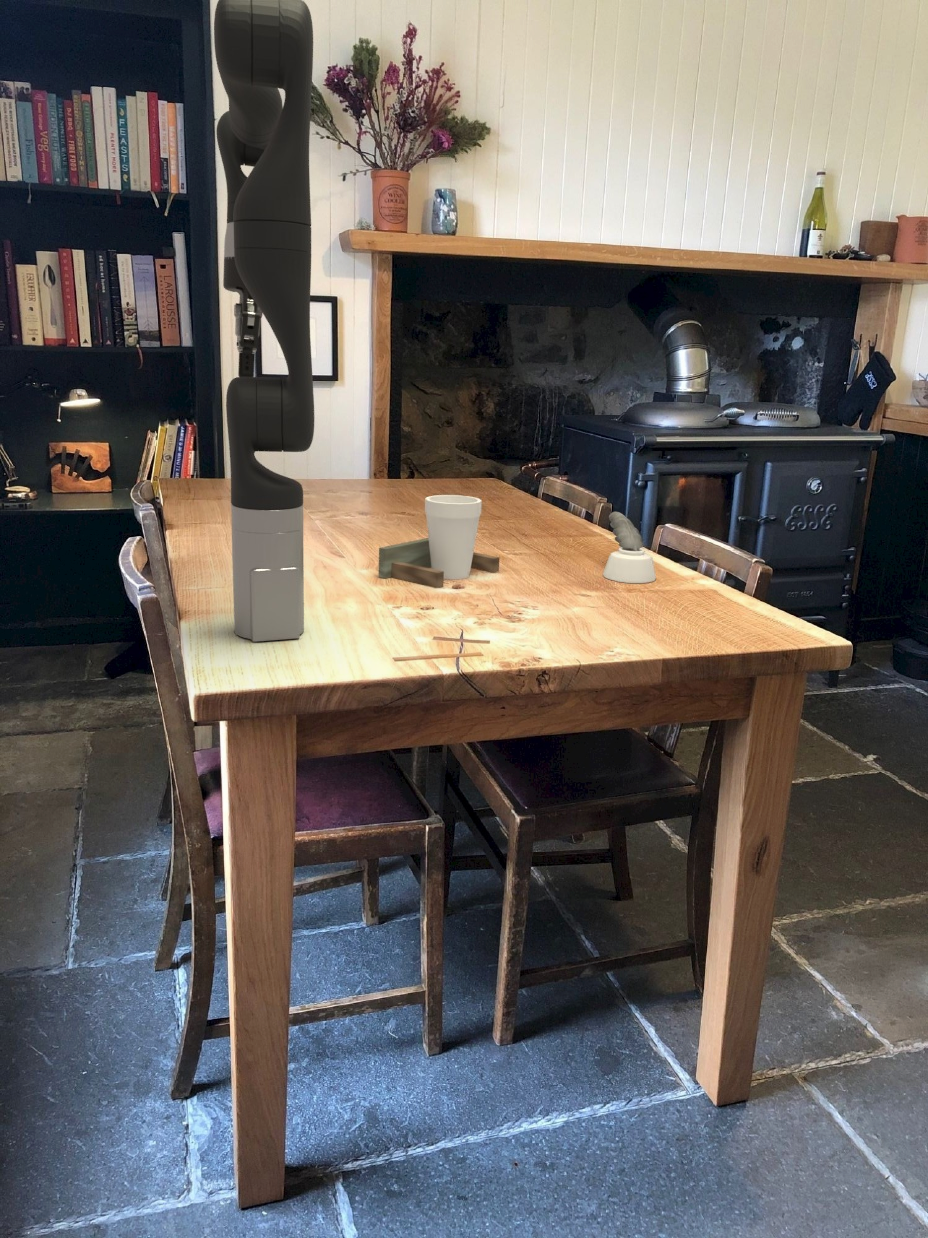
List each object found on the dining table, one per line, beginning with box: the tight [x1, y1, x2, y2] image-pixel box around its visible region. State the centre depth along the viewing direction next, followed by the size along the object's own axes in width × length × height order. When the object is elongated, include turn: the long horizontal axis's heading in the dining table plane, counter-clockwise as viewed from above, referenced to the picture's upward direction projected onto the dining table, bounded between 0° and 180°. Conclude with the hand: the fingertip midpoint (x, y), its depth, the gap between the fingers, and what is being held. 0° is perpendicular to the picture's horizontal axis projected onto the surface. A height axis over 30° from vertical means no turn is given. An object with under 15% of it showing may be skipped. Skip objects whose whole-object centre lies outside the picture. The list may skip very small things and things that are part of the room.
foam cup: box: [424, 494, 483, 580], centre depth 166 cm, size 10×9×13 cm
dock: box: [378, 537, 501, 589], centre depth 168 cm, size 12×20×5 cm, turn 142°
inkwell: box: [602, 511, 657, 584], centre depth 174 cm, size 9×18×10 cm, turn 13°
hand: (245, 377), depth 150 cm, fingers closed
